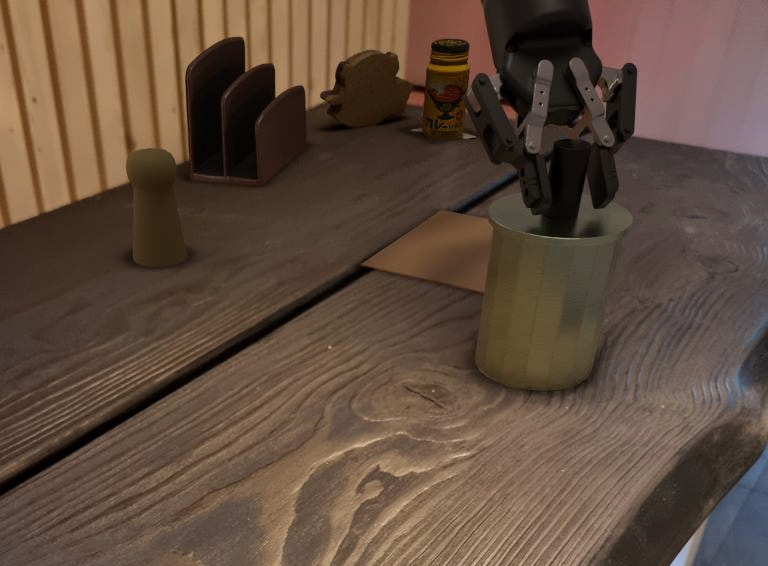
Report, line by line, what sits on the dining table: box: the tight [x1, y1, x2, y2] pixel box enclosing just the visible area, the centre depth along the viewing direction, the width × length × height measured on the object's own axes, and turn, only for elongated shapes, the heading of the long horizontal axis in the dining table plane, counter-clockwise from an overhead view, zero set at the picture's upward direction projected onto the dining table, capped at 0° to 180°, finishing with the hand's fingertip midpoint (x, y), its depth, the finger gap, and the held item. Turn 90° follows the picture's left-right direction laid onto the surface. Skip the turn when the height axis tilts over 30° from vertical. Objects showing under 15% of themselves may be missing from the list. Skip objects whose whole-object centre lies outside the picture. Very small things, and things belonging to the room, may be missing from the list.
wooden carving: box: [319, 49, 414, 129], centre depth 137 cm, size 16×5×10 cm, turn 130°
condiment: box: [411, 37, 477, 140], centre depth 132 cm, size 7×8×12 cm
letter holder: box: [184, 36, 308, 188], centre depth 122 cm, size 10×20×14 cm, turn 162°
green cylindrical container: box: [474, 227, 623, 392], centre depth 78 cm, size 10×10×12 cm
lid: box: [486, 138, 634, 247], centre depth 72 cm, size 11×11×6 cm
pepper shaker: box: [125, 147, 188, 268], centre depth 97 cm, size 6×6×11 cm
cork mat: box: [360, 209, 493, 294], centre depth 101 cm, size 20×20×1 cm
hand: (574, 205), depth 71 cm, fingers open, 4 cm apart
